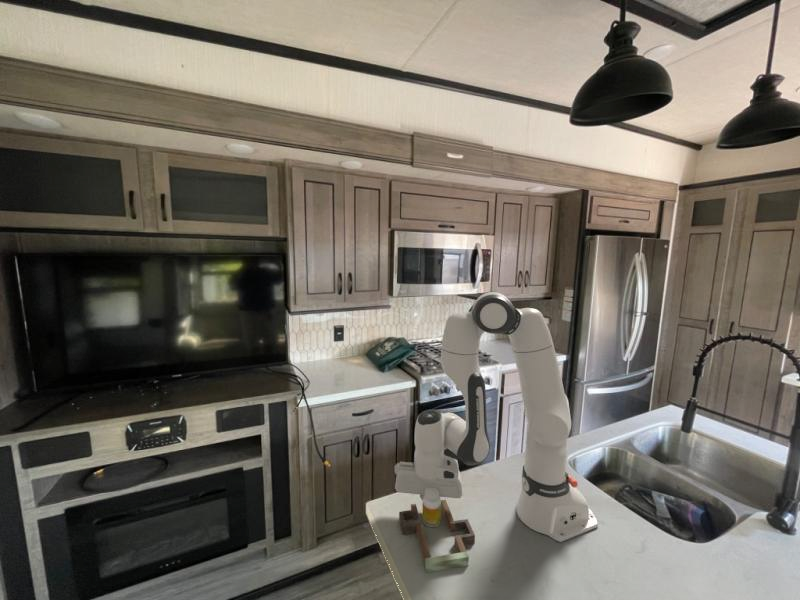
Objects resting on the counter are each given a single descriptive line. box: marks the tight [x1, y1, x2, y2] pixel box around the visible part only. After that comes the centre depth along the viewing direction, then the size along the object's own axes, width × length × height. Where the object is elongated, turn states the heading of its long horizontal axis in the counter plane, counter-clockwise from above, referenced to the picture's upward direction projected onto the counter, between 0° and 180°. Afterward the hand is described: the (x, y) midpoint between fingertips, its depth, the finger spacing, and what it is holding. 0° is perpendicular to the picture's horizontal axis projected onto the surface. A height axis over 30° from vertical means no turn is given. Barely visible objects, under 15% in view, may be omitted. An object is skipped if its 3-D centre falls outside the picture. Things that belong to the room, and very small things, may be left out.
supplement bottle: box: [422, 487, 442, 528], centre depth 97 cm, size 5×5×10 cm
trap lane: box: [398, 499, 476, 573], centre depth 92 cm, size 19×20×2 cm
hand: (428, 505), depth 101 cm, fingers closed
